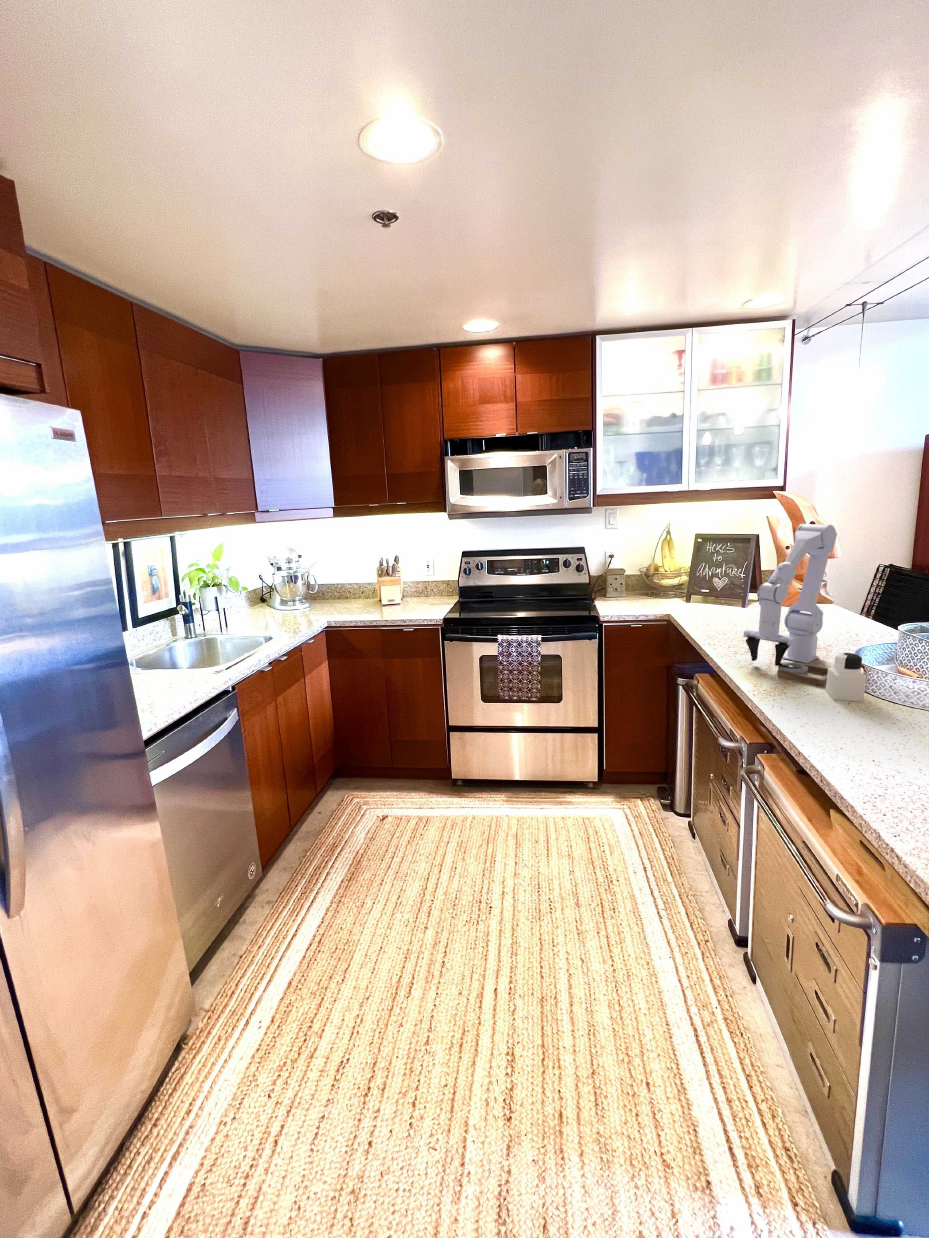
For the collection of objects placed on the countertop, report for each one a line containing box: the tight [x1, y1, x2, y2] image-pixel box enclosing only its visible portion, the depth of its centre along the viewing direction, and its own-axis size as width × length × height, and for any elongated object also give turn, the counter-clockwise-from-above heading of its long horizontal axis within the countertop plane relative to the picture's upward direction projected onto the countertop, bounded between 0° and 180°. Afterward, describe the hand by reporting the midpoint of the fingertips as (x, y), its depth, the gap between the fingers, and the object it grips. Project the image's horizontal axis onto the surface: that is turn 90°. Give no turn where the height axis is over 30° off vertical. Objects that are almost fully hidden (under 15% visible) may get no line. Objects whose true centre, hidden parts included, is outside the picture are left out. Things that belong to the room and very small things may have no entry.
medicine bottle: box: [825, 652, 867, 702], centre depth 157 cm, size 7×7×12 cm
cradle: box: [777, 661, 829, 688], centre depth 174 cm, size 12×12×2 cm
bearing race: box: [777, 661, 809, 676], centre depth 178 cm, size 8×8×2 cm
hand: (765, 662), depth 184 cm, fingers open, 7 cm apart
